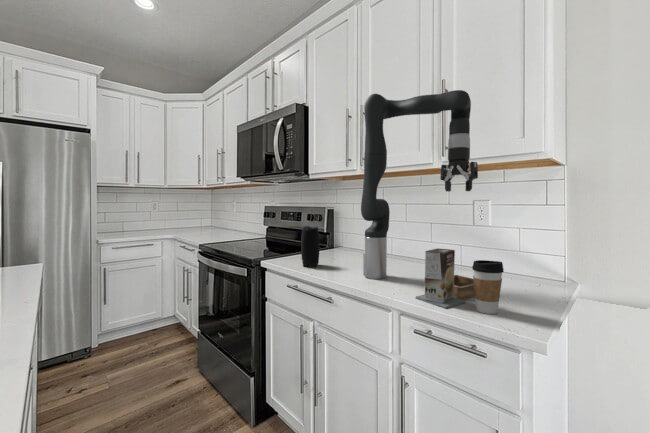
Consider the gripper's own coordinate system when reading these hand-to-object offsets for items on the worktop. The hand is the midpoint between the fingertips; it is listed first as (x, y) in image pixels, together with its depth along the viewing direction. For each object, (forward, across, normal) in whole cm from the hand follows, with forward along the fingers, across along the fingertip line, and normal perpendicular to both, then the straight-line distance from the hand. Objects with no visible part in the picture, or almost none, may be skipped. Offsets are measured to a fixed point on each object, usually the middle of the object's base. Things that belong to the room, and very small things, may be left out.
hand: (458, 191), depth 122 cm
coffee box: (+36, +8, -19) cm, 41 cm away
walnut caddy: (+36, +5, -6) cm, 37 cm away
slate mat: (+36, +8, -19) cm, 42 cm away
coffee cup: (+36, +22, -15) cm, 45 cm away
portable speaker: (+36, -62, -29) cm, 77 cm away
